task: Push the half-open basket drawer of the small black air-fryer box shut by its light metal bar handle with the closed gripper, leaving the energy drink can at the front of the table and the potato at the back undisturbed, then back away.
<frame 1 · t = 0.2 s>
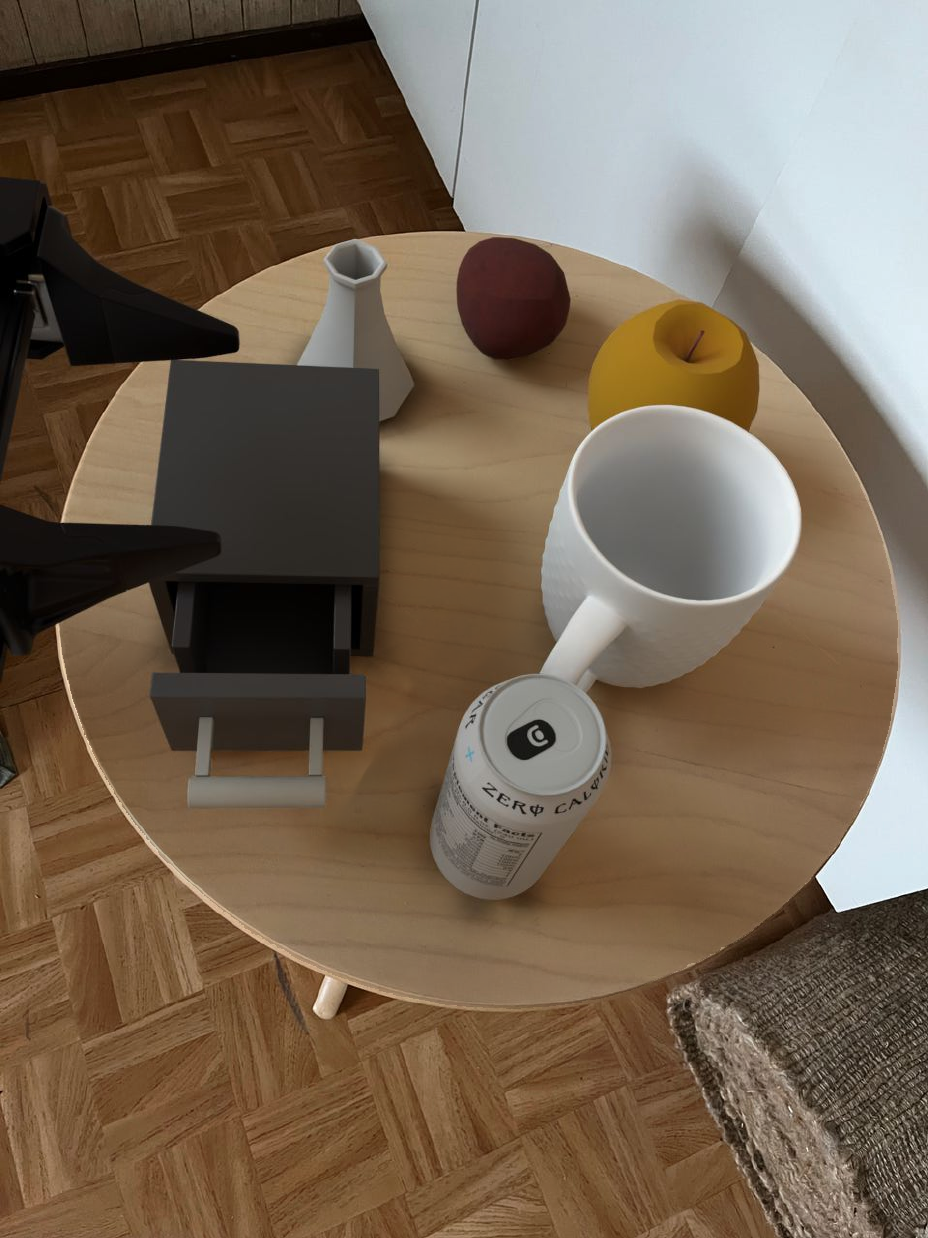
hand: (230, 436, 38), 19 cm above the table, tool horizontal, fingers open, 9 cm apart
apple: (641, 464, 63), on the table
energy drink can: (487, 844, 51), on the table
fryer: (278, 554, 57), on the table
mug: (604, 645, 57), on the table
flask: (352, 386, 63), on the table
potato: (505, 334, 67), on the table
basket: (267, 656, 49), point 4 cm above the table, slide at 4.5 cm
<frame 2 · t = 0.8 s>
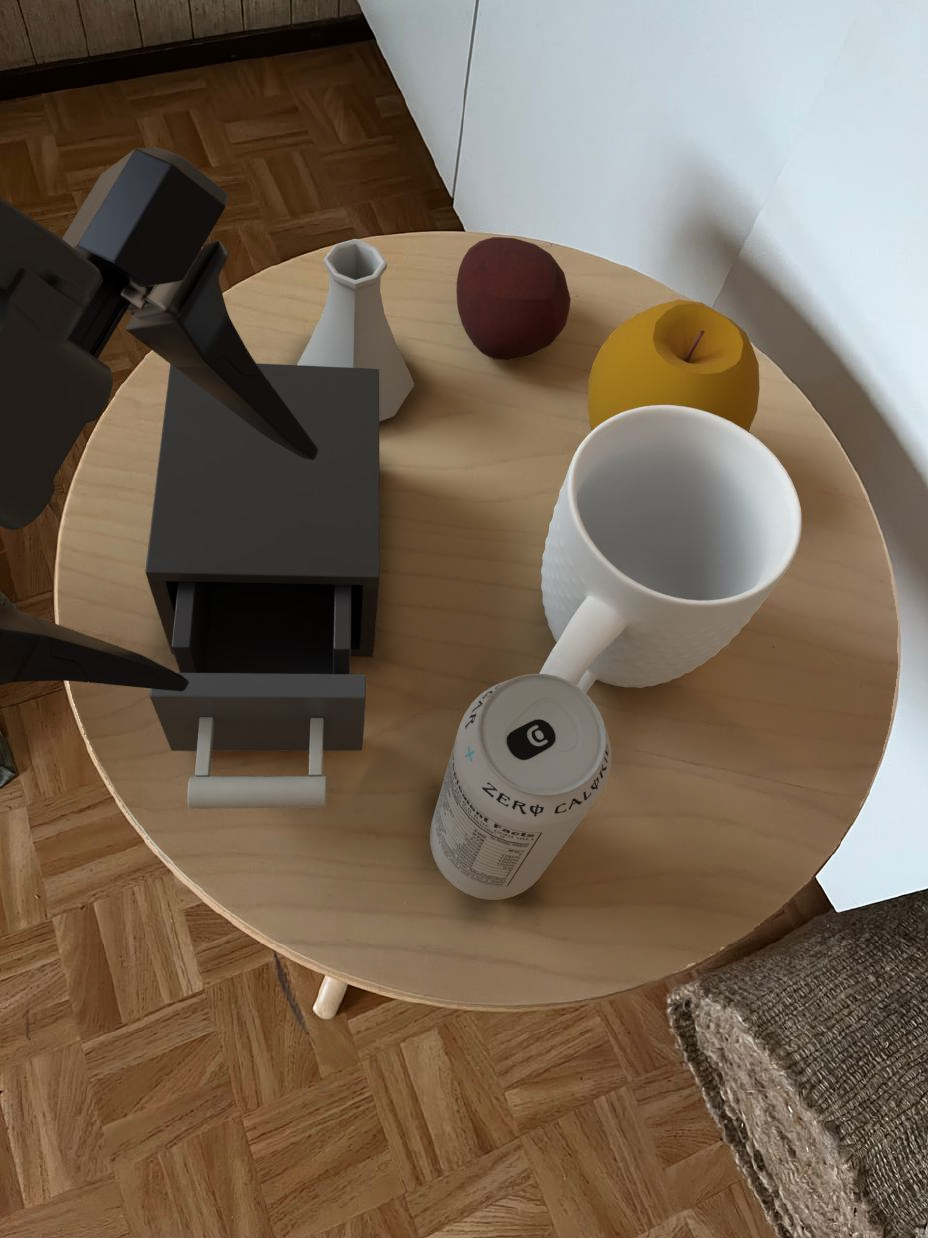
hand: (249, 568, 36), 18 cm above the table, tool tilted 55°, fingers open, 9 cm apart
nothing on the table moved.
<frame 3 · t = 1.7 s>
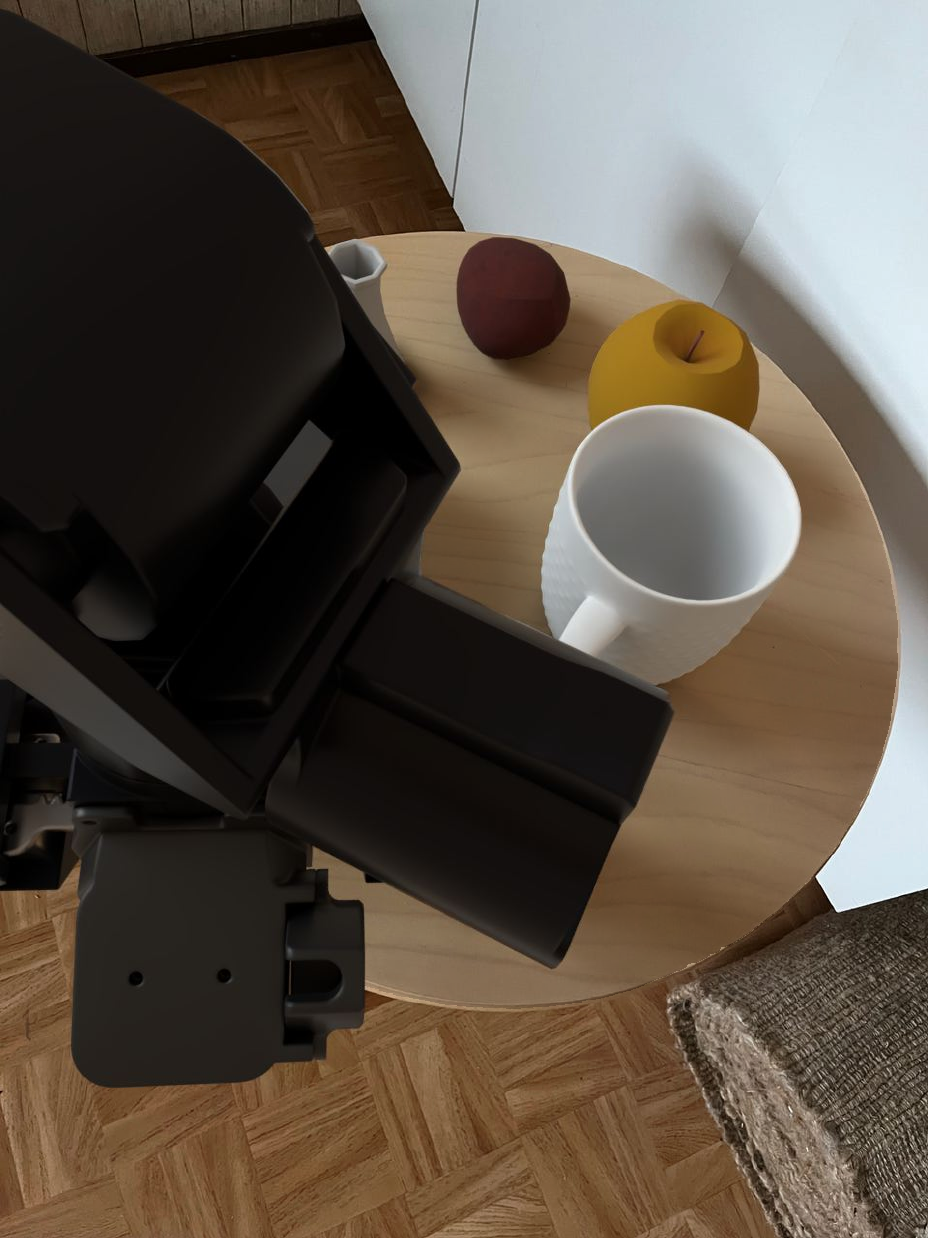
hand: (241, 849, 37), 12 cm above the table, tool pointing down, fingers open, 7 cm apart
nothing on the table moved.
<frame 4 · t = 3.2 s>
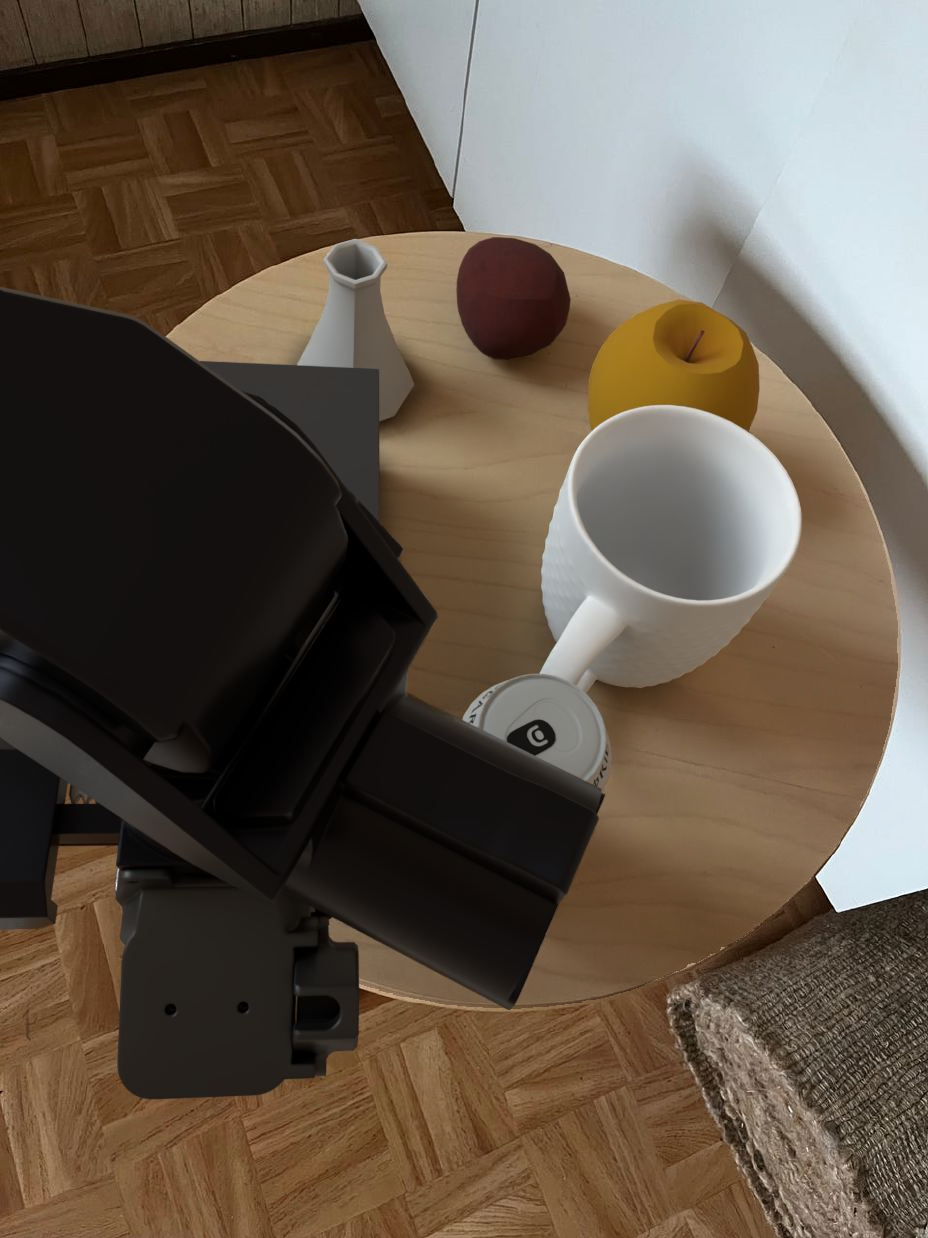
hand: (249, 884, 42), 6 cm above the table, tool pointing down, fingers closed
nothing on the table moved.
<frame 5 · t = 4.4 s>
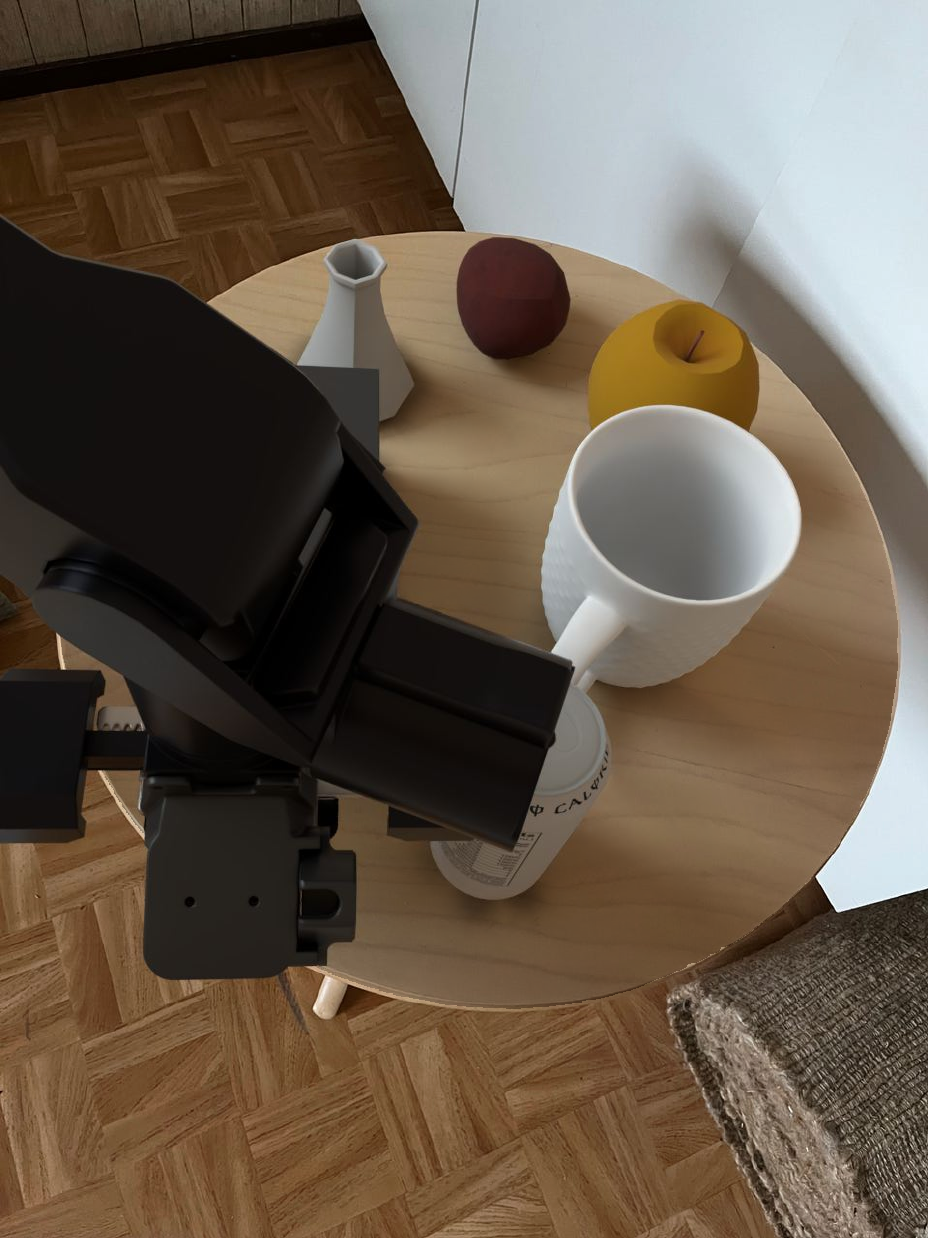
hand: (257, 819, 46), 4 cm above the table, tool pointing down, fingers closed, pressing on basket
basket: (268, 641, 50), point 4 cm above the table, slide at 3.7 cm, touching gripper
everything else where it was.
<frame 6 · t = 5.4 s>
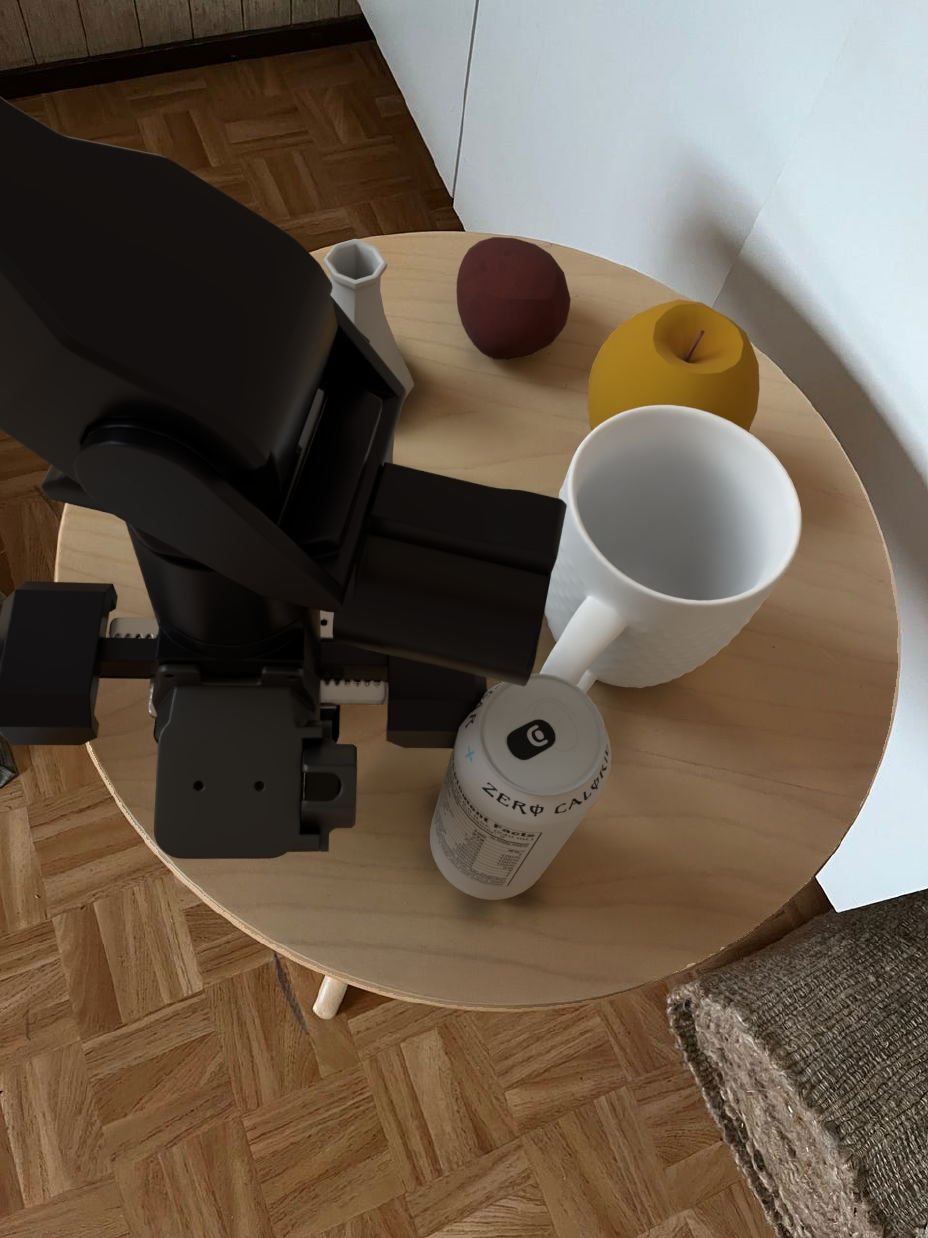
hand: (261, 742, 48), 4 cm above the table, tool pointing down, fingers closed, pressing on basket
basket: (271, 575, 51), point 4 cm above the table, slide at 0.0 cm, touching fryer, gripper
everything else where it was.
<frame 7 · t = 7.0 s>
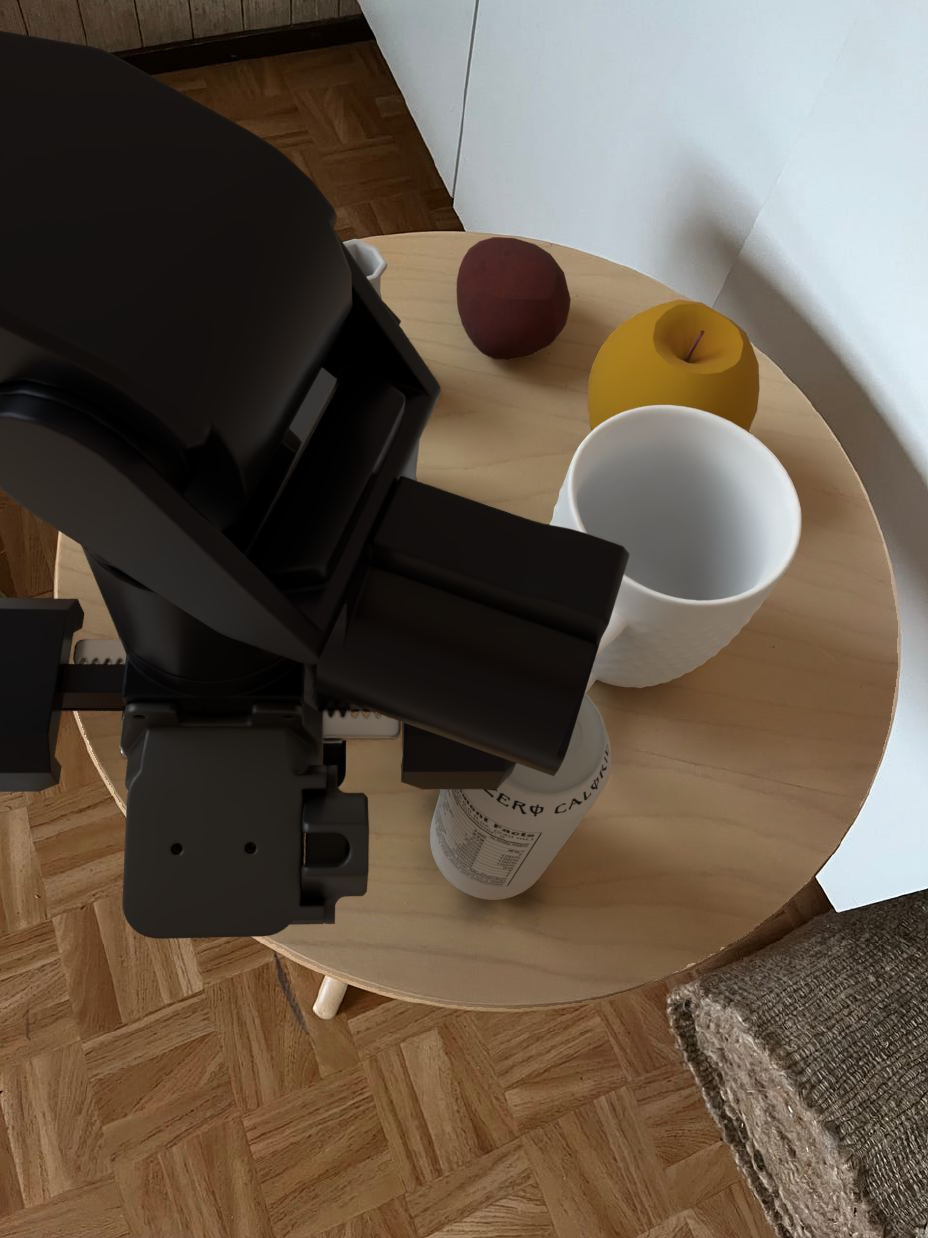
hand: (255, 775, 42), 9 cm above the table, tool pointing down, fingers closed
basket: (271, 575, 51), point 4 cm above the table, slide at 0.0 cm, touching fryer
everything else where it was.
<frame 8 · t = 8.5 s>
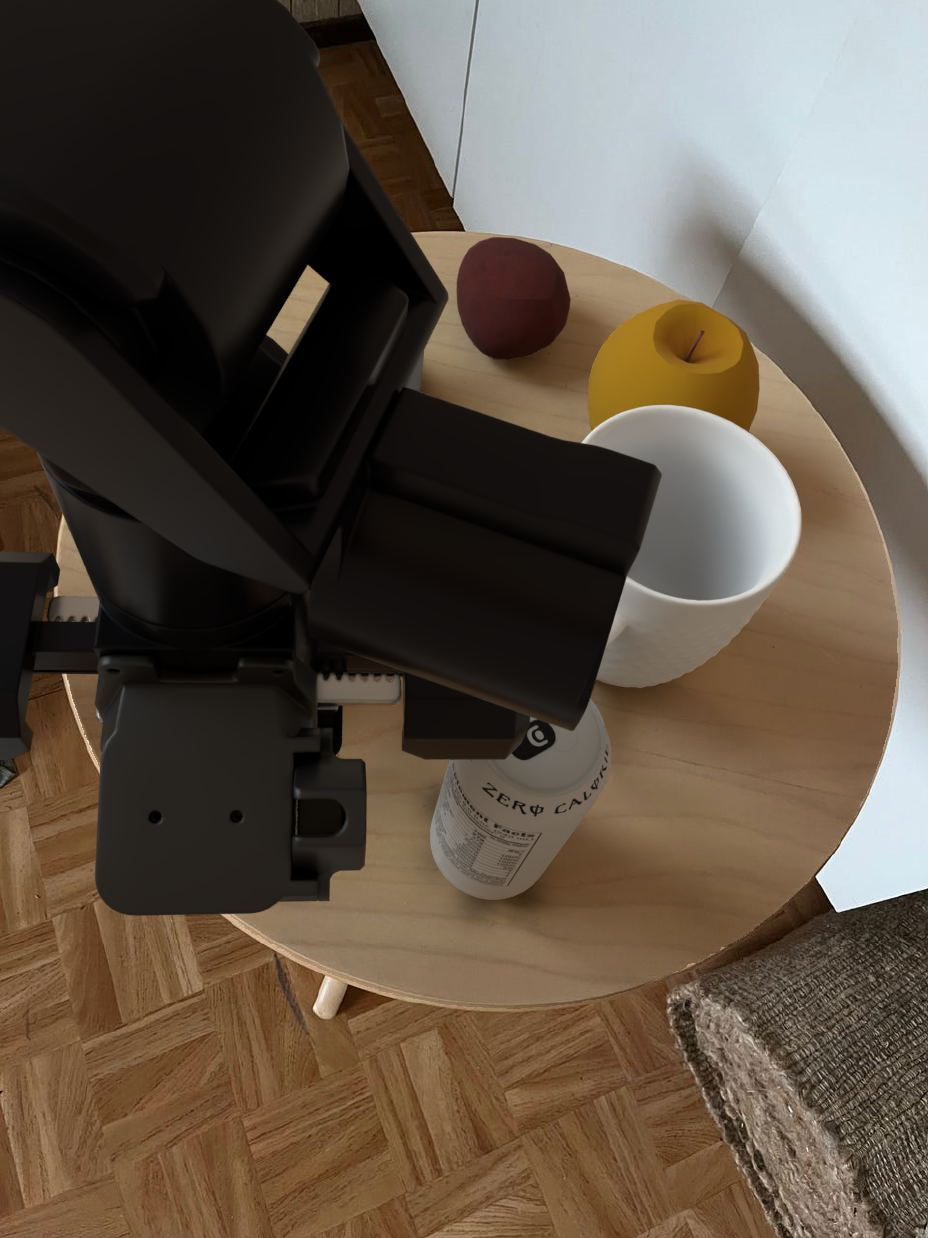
hand: (246, 749, 39), 12 cm above the table, tool pointing down, fingers closed
nothing on the table moved.
at the end: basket slide at 0.0 cm; energy drink can tilted 0°; potato moved 0.2 cm from its start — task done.
